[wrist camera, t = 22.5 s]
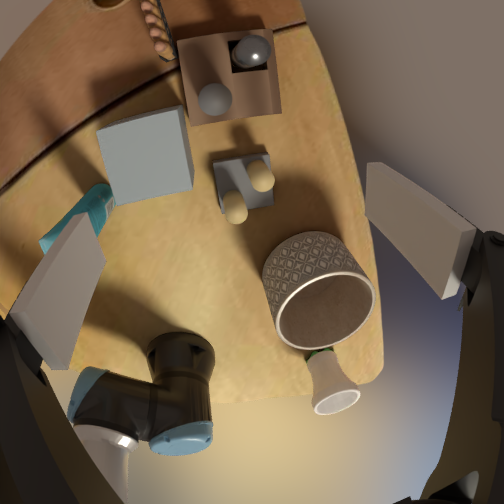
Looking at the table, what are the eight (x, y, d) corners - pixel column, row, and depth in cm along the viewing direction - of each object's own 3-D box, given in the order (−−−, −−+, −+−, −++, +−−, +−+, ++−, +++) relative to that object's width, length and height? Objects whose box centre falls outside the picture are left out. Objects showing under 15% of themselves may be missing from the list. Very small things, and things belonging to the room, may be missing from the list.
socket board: (191, 123, 39) (187, 136, 30) (178, 43, 32) (170, 32, 24) (276, 111, 39) (296, 120, 31) (267, 31, 33) (285, 19, 24)
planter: (243, 259, 52) (254, 310, 41) (327, 210, 49) (360, 251, 39) (285, 313, 61) (301, 362, 50) (356, 273, 58) (384, 317, 47)
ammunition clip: (178, 57, 33) (168, 48, 23) (165, 62, 33) (150, 55, 23) (158, -5, 27) (141, -33, 17) (145, 0, 27) (124, -26, 17)
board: (221, 209, 46) (224, 229, 41) (212, 160, 42) (213, 174, 37) (272, 201, 47) (281, 219, 41) (267, 152, 42) (277, 164, 37)
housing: (130, 184, 42) (116, 206, 35) (114, 121, 36) (95, 131, 30) (194, 170, 42) (192, 189, 36) (182, 104, 37) (177, 109, 30)
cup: (313, 374, 75) (328, 418, 63) (289, 360, 70) (304, 409, 58) (348, 352, 72) (367, 396, 60) (328, 335, 67) (348, 384, 55)
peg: (231, 70, 35) (239, 67, 27) (228, 46, 33) (234, 36, 25) (257, 67, 35) (273, 63, 27) (254, 43, 33) (269, 33, 25)
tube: (81, 182, 40) (22, 247, 24) (107, 171, 40) (54, 234, 24) (99, 222, 44) (56, 302, 28) (124, 214, 44) (88, 293, 28)
